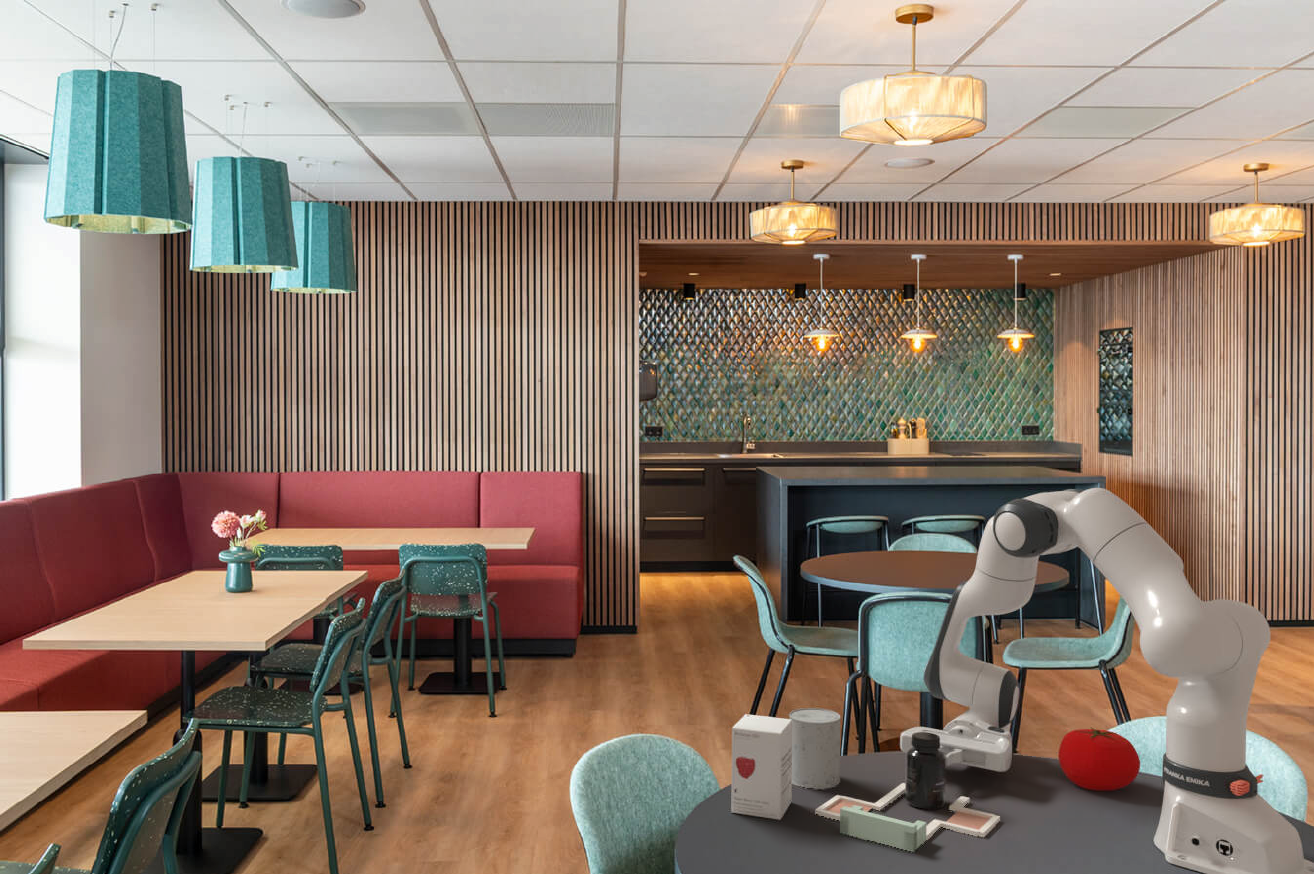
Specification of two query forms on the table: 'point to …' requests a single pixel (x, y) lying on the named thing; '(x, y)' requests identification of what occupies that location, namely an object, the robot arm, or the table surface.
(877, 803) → the trap lane
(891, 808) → the table surface
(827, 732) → the speckled concrete cylinder
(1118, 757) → the tomato
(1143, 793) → the table surface
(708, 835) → the table surface
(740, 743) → the supplement box
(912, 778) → the supplement bottle
